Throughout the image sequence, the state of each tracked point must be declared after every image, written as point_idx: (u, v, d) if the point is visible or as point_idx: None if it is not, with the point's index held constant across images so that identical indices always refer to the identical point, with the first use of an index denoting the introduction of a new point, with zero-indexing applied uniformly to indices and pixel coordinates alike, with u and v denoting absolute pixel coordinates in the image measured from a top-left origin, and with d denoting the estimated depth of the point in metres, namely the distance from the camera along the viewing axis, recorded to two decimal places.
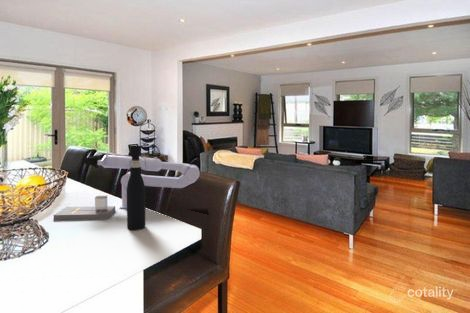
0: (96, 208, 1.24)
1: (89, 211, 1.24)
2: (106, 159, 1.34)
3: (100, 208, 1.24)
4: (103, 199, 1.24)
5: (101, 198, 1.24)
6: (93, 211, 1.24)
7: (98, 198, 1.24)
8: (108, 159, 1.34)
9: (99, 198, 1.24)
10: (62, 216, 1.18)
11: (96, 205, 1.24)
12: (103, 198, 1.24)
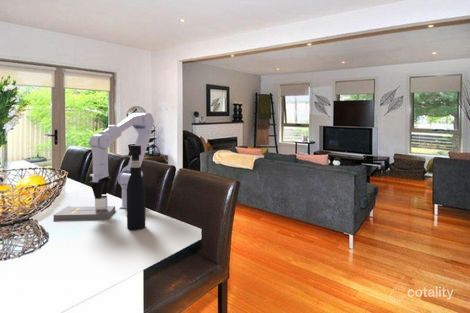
0: (96, 208, 1.24)
1: (89, 211, 1.24)
2: (95, 174, 1.22)
3: (100, 208, 1.24)
4: (103, 199, 1.24)
5: (101, 198, 1.24)
6: (93, 211, 1.24)
7: None
8: (95, 172, 1.22)
9: None
10: (62, 216, 1.18)
11: (96, 205, 1.24)
12: (103, 198, 1.24)
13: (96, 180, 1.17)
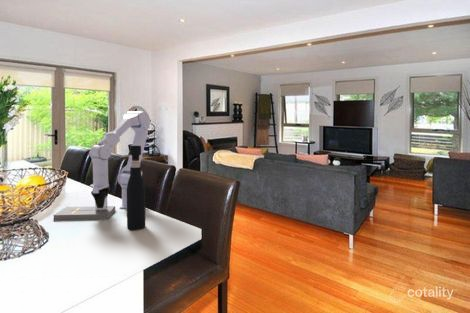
0: (96, 208, 1.24)
1: (89, 211, 1.24)
2: (96, 185, 1.22)
3: (100, 208, 1.24)
4: None
5: None
6: (93, 211, 1.24)
7: None
8: (95, 182, 1.22)
9: None
10: (62, 216, 1.18)
11: None
12: None
13: (96, 191, 1.18)
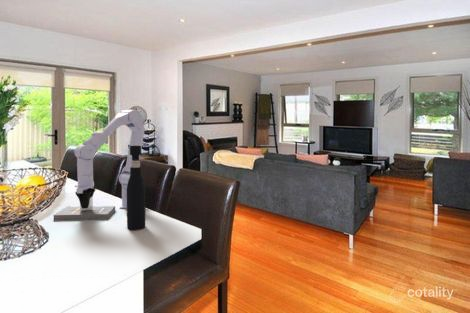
0: (80, 208, 1.23)
1: (89, 211, 1.24)
2: (80, 185, 1.21)
3: (85, 208, 1.24)
4: None
5: None
6: (93, 211, 1.24)
7: None
8: (80, 182, 1.21)
9: None
10: (62, 216, 1.18)
11: None
12: None
13: (80, 191, 1.17)
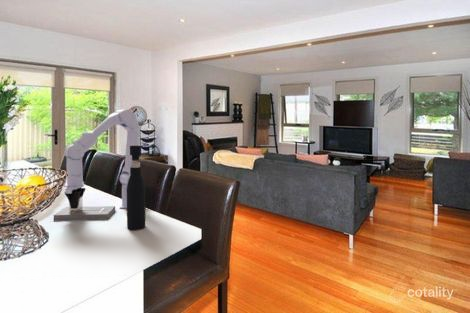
0: (70, 208, 1.23)
1: (89, 211, 1.24)
2: (69, 185, 1.21)
3: None
4: None
5: None
6: (93, 211, 1.24)
7: None
8: (69, 182, 1.21)
9: None
10: (62, 216, 1.18)
11: None
12: None
13: (69, 191, 1.17)
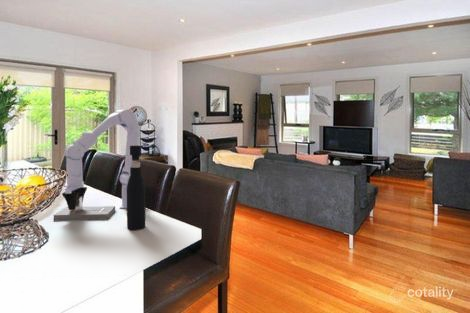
0: None
1: (89, 211, 1.24)
2: (69, 185, 1.21)
3: None
4: (77, 199, 1.23)
5: None
6: (93, 211, 1.24)
7: None
8: (69, 182, 1.21)
9: None
10: (62, 216, 1.18)
11: None
12: (77, 198, 1.23)
13: (69, 191, 1.17)
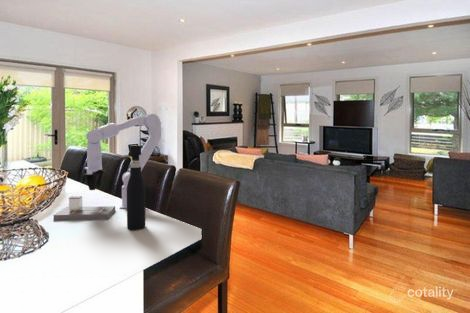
0: (70, 208, 1.23)
1: (89, 211, 1.24)
2: (90, 167, 1.30)
3: (74, 208, 1.23)
4: (77, 199, 1.23)
5: (75, 198, 1.23)
6: (93, 211, 1.24)
7: (72, 198, 1.22)
8: (89, 165, 1.30)
9: (73, 198, 1.23)
10: (62, 216, 1.18)
11: (70, 205, 1.23)
12: (77, 198, 1.23)
13: (90, 172, 1.25)
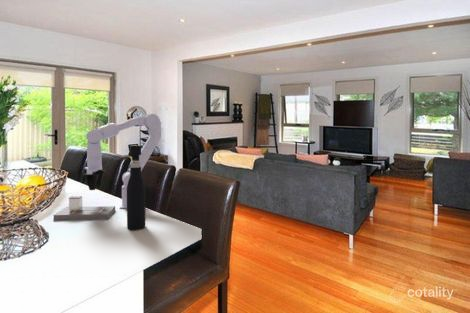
0: (70, 208, 1.23)
1: (89, 211, 1.24)
2: (90, 167, 1.30)
3: (74, 208, 1.23)
4: (77, 199, 1.23)
5: (75, 198, 1.23)
6: (93, 211, 1.24)
7: (72, 198, 1.22)
8: (89, 165, 1.30)
9: (73, 198, 1.23)
10: (62, 216, 1.18)
11: (70, 205, 1.23)
12: (77, 198, 1.23)
13: (90, 172, 1.25)
